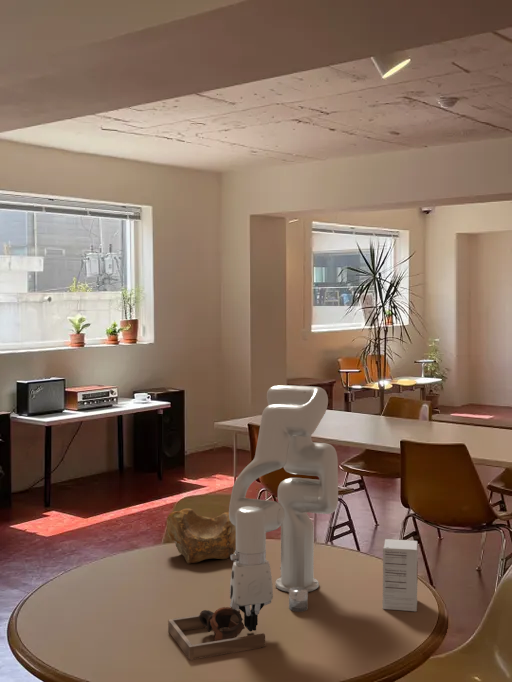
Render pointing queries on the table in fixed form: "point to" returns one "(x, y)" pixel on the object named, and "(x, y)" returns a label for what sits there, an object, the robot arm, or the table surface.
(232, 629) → the pottery mug
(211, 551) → the rough brown rock
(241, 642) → the display frame
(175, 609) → the table surface
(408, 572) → the supplement box
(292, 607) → the grey tin
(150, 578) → the table surface
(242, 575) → the robot arm
